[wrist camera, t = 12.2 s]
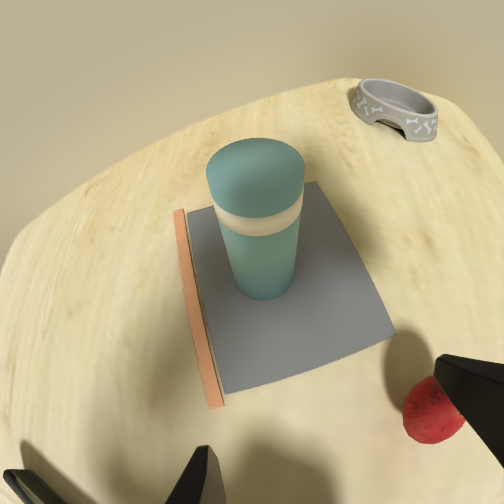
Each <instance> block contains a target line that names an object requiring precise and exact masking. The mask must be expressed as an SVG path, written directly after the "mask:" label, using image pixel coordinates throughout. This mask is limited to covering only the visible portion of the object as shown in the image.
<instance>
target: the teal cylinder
mask: <svg viewBox="0 0 504 504" xmlns="http://www.w3.org/2000/svg"><path fill="white" fill-rule="evenodd" d="M304 169H305V167H304V161H303V159H302V157H301V155H300V154H299V153H298V152H297V151H296V150H295V149H294V148H293V147H291V146H289V145H288V144H286V143H283V142H281V141H277V140H273V139H267V138H250V139H244V140H240V141H236V142H233V143H231V144H229V145H227V146H225V147H223V148H221V149H220V150H219V151H217V152H216V153H215V154H214V155H213V156H212V158H211V159H210V161H209V162H208V165H207V168H206V176H207V180H208V184H209V187H210V194H211V198H212V202H213V206H214V209H215V213H216V215H217V218H218V221H219V225H220V229H221V232H222V236H223V239H224V243H225V247H226V250H227V254H228V257H229V261H230V265H231V268H232V272H233V275H234V279H235V282H236V285H237V287H238V288H239V290H240V291H241V292H242V293H243V294H244V295H246V296H248V297H249V298H252V299H255V300H261V301H266V300H272V299H275V298H277V297H279V296H281V295H282V294H284V293H285V292H286V291H287V290H288V288H289V287H290V285H291V283H292V280H293V274H294V266H295V258H296V250H297V241H298V232H299V223H300V213H301V208H302V201H303V191H304Z"/></svg>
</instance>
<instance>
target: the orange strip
mask: <svg viewBox="0 0 504 504" xmlns="http://www.w3.org/2000/svg"><path fill="white" fill-rule="evenodd" d="M173 214H174V223H175V231H176V239H177V246H178V253H179V260H180V267H181V274H182V280H183V286H184V292H185V298H186V303H187V309H188V314H189V320H190V325H191V330H192V335H193V340H194V345H195V349H196V354H197V358H198V363H199V367H200V372H201V376H202V380H203V384H204V388H205V392H206V396H207V400H208V404H209V408H210V409H211V408H216V407H221V406H224V403H223V400H222V396H221V392H220V388H219V385H218V381H217V377H216V373H215V369H214V365H213V361H212V357H211V352H210V348H209V344H208V340H207V335H206V331H205V326H204V322H203V317H202V312H201V307H200V303H199V298H198V293H197V287H196V282H195V277H194V272H193V266H192V261H191V255H190V249H189V243H188V237H187V231H186V224H185V218H184V211H183V209H180V210H177V211H174V212H173Z"/></svg>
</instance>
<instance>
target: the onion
mask: <svg viewBox="0 0 504 504" xmlns="http://www.w3.org/2000/svg"><path fill="white" fill-rule="evenodd" d="M465 420H466V419H465V418H464V417H463V416H462V415H461V414H460V412H459V411H458V410H457V409H456V408H455V406H454V405H453V404H452V403H451V401H450V400H449V398H448V397H447V395H446V394H445V392H444V391H443V389H442V388H441V387H440V385H439V384H438V382H437V381H436V379H435V377H434V376H429V377H427V378H425V379H424V380H422V381H421V382H420V383H418V384H417V385H416V386H414V387H413V389H412V390H411V392H410V393H409V395H408V397H407V398H406V400H405V404H404V409H403V426H404V428H405V430H406V432H407V434H408V435H409V436H410V437H411V438H413V439H414V440H416V441H417V442H419V443H423V444H436V443H439V442H441V441H444V440H446V439H448V438H450V437H451V436H453V435H454V434H455V433H456V432H457V431H458V430H459V429H460V428H461V427H462V426H463V424H464V422H465Z"/></svg>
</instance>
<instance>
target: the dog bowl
mask: <svg viewBox="0 0 504 504" xmlns="http://www.w3.org/2000/svg"><path fill="white" fill-rule="evenodd" d="M350 107H351V110H352V111H353V113H354V114H355V115H356V116H357V117H358V118H359V119H361V120H362V121H363V122H365V123H366V124H368V125H371V124H372V123H373V122H374V121H376V120H379V121H381V122H383V123H385V124H387V125H389V126H392V127H394V128H398V129H401V130H403V131H404V133H405V136H406V140H407V141H411V142H429V141H432V140H434V139H435V137H436V134H437V120H438V110H437V107H436V106H435V104H434V103H433V102H432V101H431V100H430V99H428V98H427V97H426V96H424V95H423V94H421V93H420V92H418V91H416V90H414V89H412V88H410V87H408V86H405V85H403V84H400V83H397V82H394V81H390V80H385V79H377V78H368V79H364V80H362V81H360V83H359V85H358V87H357V89H356V92H355V94H354V96H353V98H352V100H351V103H350Z"/></svg>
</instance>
